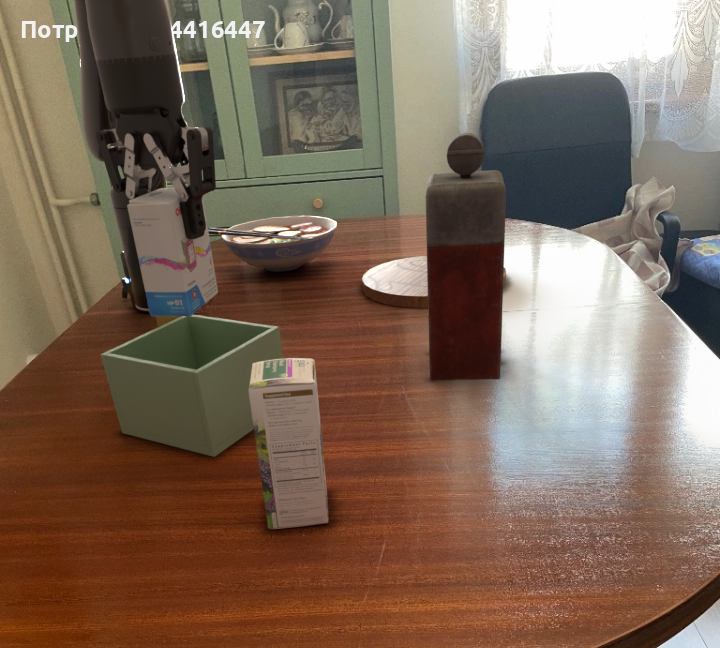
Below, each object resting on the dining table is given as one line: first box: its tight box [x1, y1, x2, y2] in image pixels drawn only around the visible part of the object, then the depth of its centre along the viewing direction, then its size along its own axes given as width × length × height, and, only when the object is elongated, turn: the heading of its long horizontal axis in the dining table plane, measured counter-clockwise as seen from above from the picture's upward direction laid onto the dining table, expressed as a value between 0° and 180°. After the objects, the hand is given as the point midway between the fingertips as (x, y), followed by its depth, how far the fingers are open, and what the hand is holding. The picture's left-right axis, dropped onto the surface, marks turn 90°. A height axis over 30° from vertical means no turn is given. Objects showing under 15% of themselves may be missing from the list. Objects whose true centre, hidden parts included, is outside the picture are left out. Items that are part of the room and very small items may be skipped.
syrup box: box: [248, 357, 330, 530], centre depth 66 cm, size 6×6×14 cm
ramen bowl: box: [208, 215, 338, 273], centre depth 143 cm, size 25×23×8 cm
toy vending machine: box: [425, 132, 507, 381], centre depth 90 cm, size 9×11×28 cm
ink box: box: [127, 187, 219, 317], centre depth 78 cm, size 8×5×12 cm, turn 168°
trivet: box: [361, 254, 507, 309], centre depth 127 cm, size 25×25×2 cm
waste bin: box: [100, 314, 284, 458], centre depth 86 cm, size 14×14×10 cm
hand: (172, 235), depth 77 cm, fingers closed on ink box, 6 cm apart
